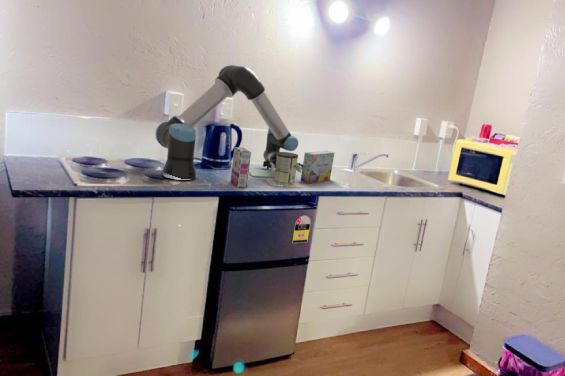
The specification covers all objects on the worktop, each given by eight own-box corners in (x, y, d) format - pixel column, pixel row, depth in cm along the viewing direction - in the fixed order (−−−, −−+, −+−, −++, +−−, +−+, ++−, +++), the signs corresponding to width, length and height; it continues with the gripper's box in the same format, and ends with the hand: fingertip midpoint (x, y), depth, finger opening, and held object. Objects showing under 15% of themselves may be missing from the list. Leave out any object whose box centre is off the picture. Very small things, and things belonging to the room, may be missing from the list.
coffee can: (274, 178, 243) (278, 150, 240) (295, 181, 242) (299, 153, 239) (272, 183, 233) (275, 153, 230) (293, 186, 232) (297, 156, 229)
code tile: (271, 185, 228) (271, 185, 228) (264, 178, 243) (264, 177, 243) (304, 187, 232) (304, 187, 232) (295, 179, 247) (295, 179, 247)
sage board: (252, 176, 242) (252, 175, 242) (246, 169, 257) (246, 168, 257) (283, 178, 247) (283, 177, 246) (275, 171, 261) (275, 170, 261)
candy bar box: (247, 188, 217) (251, 151, 214) (236, 187, 216) (240, 151, 212) (240, 182, 228) (244, 147, 224) (230, 181, 226) (233, 146, 222)
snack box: (309, 184, 242) (313, 154, 238) (299, 181, 245) (303, 152, 241) (330, 179, 259) (335, 151, 255) (321, 177, 262) (325, 149, 258)
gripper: (298, 168, 258) (311, 178, 238) (252, 165, 251) (261, 174, 231) (300, 154, 256) (313, 163, 236) (253, 151, 249) (262, 159, 229)
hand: (287, 168), depth 234 cm, fingers open, 13 cm apart
